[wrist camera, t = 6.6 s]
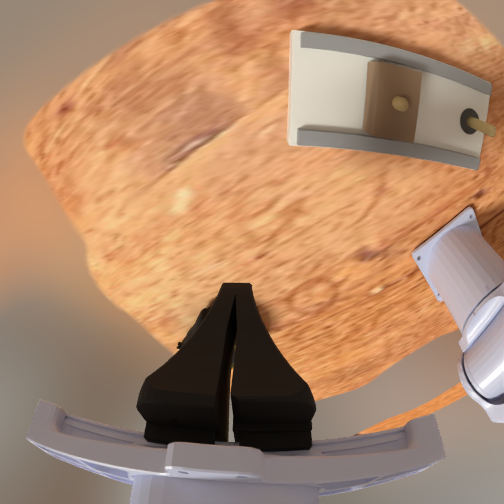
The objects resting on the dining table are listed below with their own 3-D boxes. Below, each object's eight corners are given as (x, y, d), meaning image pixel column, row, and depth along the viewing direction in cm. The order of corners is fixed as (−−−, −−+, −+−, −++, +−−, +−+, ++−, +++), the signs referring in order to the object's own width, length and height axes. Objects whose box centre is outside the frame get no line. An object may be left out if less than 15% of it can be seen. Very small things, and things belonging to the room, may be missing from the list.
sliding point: (407, 71, 14) (426, 73, 12) (400, 135, 17) (417, 145, 15) (367, 61, 14) (382, 61, 12) (362, 129, 17) (375, 138, 15)
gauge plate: (480, 80, 15) (513, 89, 11) (466, 164, 20) (496, 184, 16) (290, 33, 15) (298, 22, 12) (286, 140, 20) (294, 157, 16)
